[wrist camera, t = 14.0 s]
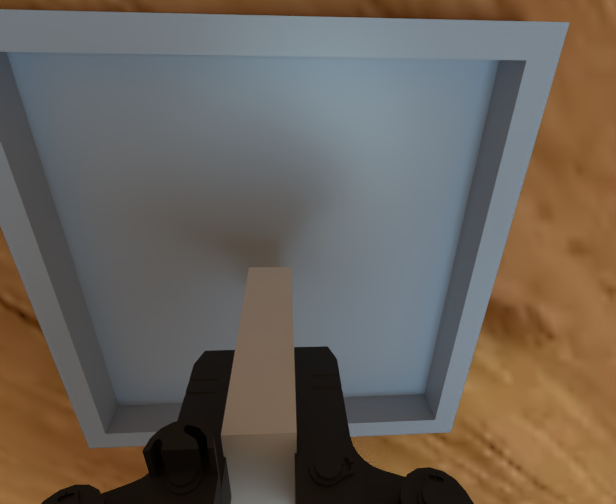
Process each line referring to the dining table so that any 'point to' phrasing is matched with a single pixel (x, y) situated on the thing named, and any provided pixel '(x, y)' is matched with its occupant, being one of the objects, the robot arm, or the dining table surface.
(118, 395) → the tray
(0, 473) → the dining table surface
